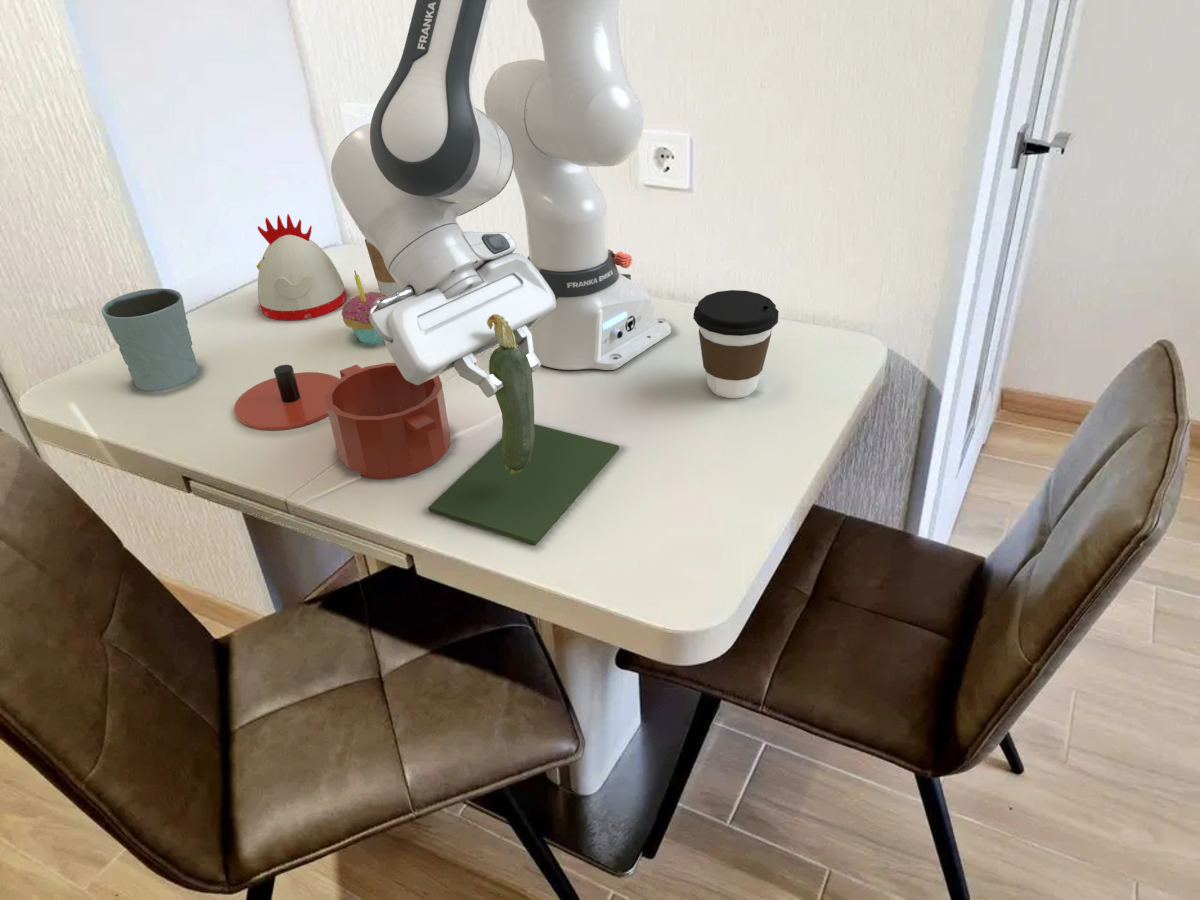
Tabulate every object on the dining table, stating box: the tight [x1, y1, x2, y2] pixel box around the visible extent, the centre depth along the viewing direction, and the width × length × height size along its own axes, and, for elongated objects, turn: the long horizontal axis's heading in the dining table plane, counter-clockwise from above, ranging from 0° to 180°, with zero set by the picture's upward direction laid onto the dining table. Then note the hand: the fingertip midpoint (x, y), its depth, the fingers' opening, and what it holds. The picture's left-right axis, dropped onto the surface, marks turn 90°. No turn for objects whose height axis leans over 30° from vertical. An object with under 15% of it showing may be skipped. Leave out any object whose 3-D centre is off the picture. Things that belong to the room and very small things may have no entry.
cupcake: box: [341, 270, 386, 345], centre depth 132 cm, size 9×8×12 cm
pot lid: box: [234, 364, 340, 431], centre depth 118 cm, size 15×15×6 cm
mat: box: [427, 423, 620, 546], centre depth 103 cm, size 20×14×1 cm
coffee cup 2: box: [692, 289, 780, 399], centre depth 115 cm, size 11×11×12 cm
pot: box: [325, 362, 452, 480], centre depth 107 cm, size 14×19×8 cm
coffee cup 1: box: [364, 238, 400, 296], centre depth 144 cm, size 8×8×15 cm
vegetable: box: [487, 314, 535, 475], centre depth 93 cm, size 4×4×20 cm
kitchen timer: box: [256, 213, 347, 321], centre depth 143 cm, size 14×14×15 cm
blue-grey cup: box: [100, 288, 199, 392], centre depth 123 cm, size 10×10×12 cm
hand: (515, 381), depth 92 cm, fingers closed on vegetable, 4 cm apart
